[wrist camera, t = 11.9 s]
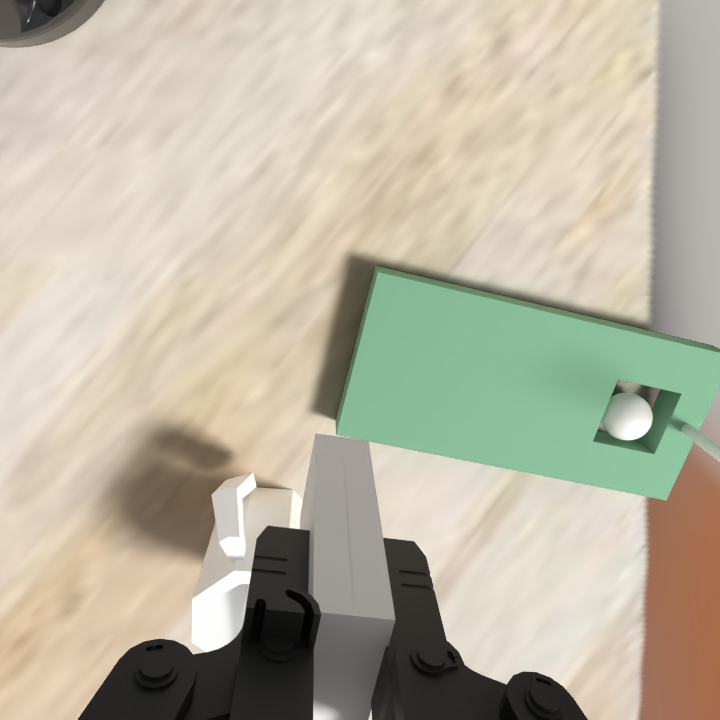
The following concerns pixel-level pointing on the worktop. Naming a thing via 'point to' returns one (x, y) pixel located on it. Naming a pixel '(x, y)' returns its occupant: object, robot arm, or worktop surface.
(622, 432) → the ball
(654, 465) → the putting strip
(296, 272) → the worktop surface
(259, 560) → the robot arm
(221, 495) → the mug
